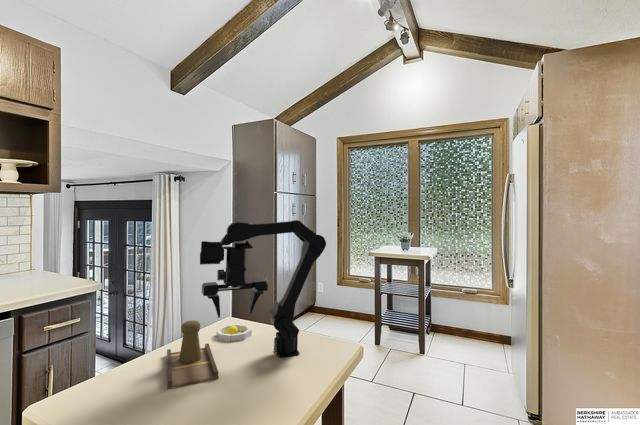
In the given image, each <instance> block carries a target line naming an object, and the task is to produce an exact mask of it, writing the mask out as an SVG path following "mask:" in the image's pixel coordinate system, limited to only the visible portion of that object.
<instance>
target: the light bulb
mask: <svg viewBox="0 0 640 425" xmlns="http://www.w3.org/2000/svg"><path fill="white" fill-rule="evenodd" d="M224 333H225V334H238V328H237V327H236V326H231V327H229V328H228V330H227V331H225V332H224Z"/></svg>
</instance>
